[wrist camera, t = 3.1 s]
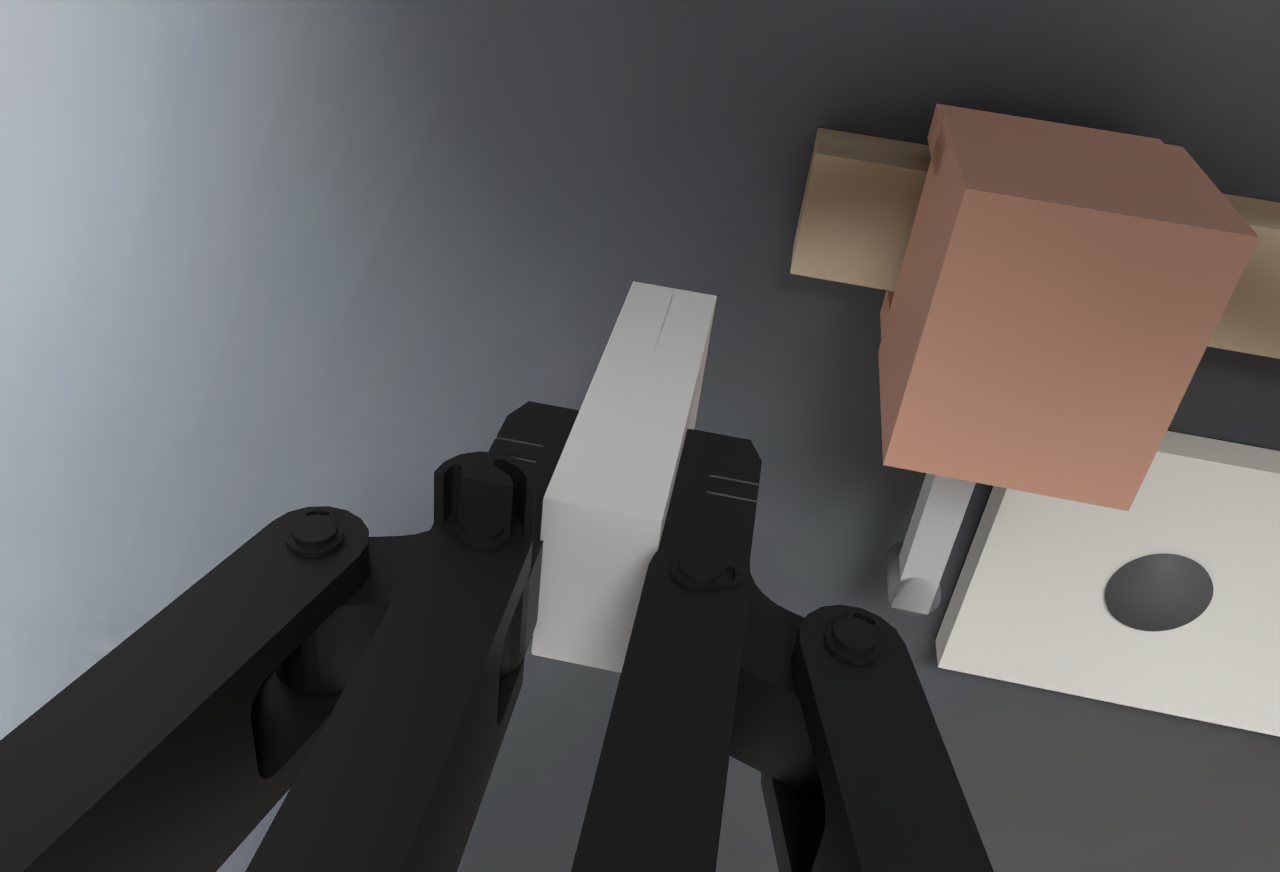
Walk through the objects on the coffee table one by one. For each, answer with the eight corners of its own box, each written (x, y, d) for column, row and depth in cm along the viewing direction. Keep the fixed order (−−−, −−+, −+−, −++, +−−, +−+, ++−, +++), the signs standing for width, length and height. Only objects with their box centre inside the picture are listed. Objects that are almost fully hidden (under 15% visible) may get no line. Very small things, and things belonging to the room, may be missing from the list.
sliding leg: (940, 90, 24) (965, 188, 18) (1165, 125, 23) (1258, 237, 18) (819, 537, 31) (812, 701, 26) (988, 570, 31) (1017, 743, 25)
